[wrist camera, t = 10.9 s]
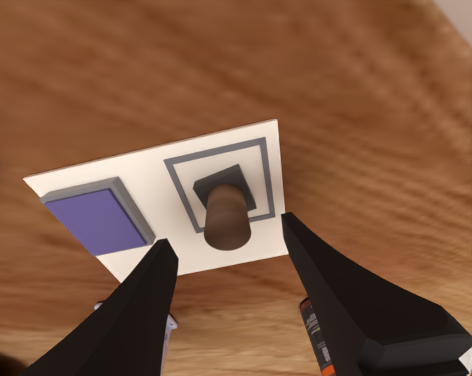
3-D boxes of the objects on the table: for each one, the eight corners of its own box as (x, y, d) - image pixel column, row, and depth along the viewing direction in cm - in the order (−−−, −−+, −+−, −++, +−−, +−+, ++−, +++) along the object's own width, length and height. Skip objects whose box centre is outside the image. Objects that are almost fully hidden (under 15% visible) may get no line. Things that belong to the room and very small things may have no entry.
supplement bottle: (326, 313, 30) (376, 423, 21) (293, 312, 29) (328, 427, 20) (343, 293, 27) (410, 410, 18) (307, 291, 26) (356, 414, 17)
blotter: (287, 249, 21) (289, 254, 21) (126, 281, 22) (123, 287, 22) (275, 118, 14) (277, 120, 13) (29, 175, 15) (20, 179, 14)
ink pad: (156, 236, 18) (151, 247, 17) (99, 248, 18) (91, 259, 17) (118, 176, 14) (109, 184, 13) (49, 191, 15) (34, 200, 14)
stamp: (254, 200, 17) (266, 244, 12) (215, 215, 17) (212, 262, 13) (238, 163, 15) (246, 200, 10) (194, 181, 15) (183, 223, 11)
